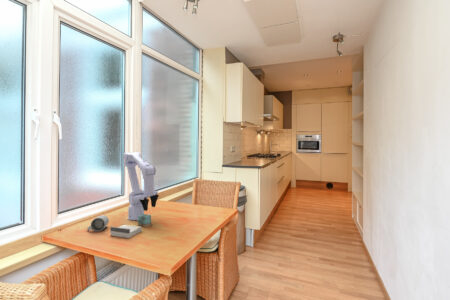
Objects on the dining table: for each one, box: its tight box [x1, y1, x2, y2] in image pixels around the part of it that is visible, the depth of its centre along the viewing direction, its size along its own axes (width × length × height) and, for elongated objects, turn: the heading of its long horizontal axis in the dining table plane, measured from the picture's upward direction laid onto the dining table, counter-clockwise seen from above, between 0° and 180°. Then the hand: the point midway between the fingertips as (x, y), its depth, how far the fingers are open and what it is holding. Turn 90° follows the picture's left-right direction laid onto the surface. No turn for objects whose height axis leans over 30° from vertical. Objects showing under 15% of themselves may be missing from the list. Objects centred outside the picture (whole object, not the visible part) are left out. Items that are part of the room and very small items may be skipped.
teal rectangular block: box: [137, 213, 153, 228], centre depth 139 cm, size 7×4×6 cm, turn 71°
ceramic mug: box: [86, 214, 109, 232], centre depth 134 cm, size 11×8×8 cm
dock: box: [109, 224, 142, 239], centre depth 127 cm, size 12×10×4 cm
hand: (149, 208), depth 139 cm, fingers open, 7 cm apart
